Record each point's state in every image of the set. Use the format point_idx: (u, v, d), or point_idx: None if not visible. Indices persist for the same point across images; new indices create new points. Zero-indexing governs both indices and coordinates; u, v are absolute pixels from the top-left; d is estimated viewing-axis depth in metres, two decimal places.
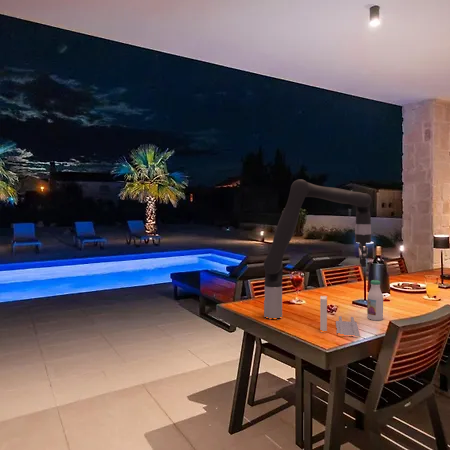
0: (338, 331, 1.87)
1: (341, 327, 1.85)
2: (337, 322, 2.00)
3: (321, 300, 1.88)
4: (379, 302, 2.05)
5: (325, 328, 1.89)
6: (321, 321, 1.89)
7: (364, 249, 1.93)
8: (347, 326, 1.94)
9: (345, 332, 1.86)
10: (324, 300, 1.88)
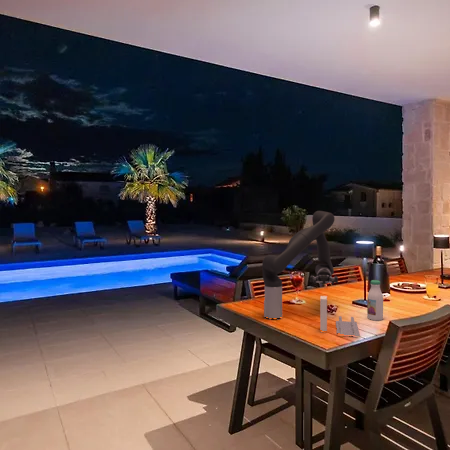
0: (338, 331, 1.87)
1: (341, 327, 1.85)
2: (337, 322, 2.00)
3: (321, 300, 1.88)
4: (379, 302, 2.05)
5: (325, 328, 1.89)
6: (321, 321, 1.89)
7: None
8: (347, 326, 1.94)
9: (345, 332, 1.86)
10: (324, 300, 1.88)
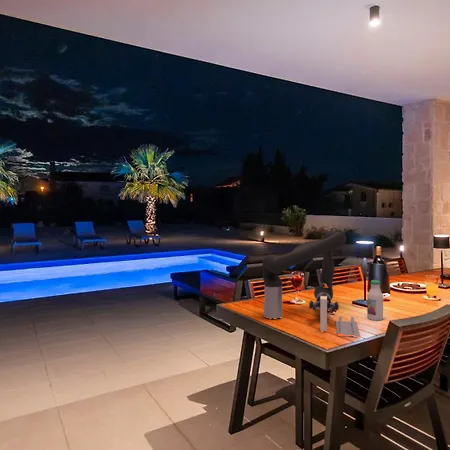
0: (338, 331, 1.87)
1: (341, 327, 1.85)
2: (337, 322, 2.00)
3: (321, 300, 1.88)
4: (379, 302, 2.05)
5: (325, 328, 1.89)
6: (321, 321, 1.89)
7: None
8: (347, 326, 1.94)
9: (345, 332, 1.86)
10: (324, 300, 1.88)
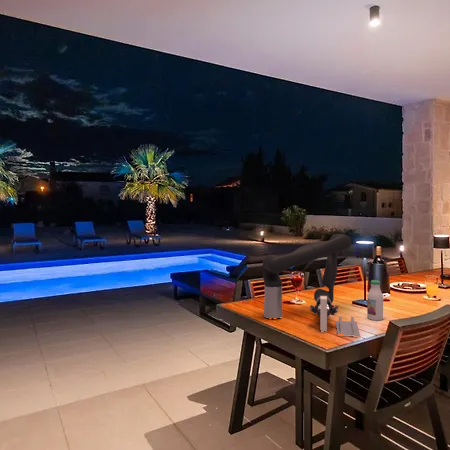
0: (338, 331, 1.87)
1: (341, 327, 1.85)
2: (337, 322, 2.00)
3: (321, 300, 1.88)
4: (379, 302, 2.05)
5: (325, 328, 1.89)
6: (321, 321, 1.89)
7: (336, 310, 1.95)
8: (347, 326, 1.94)
9: (345, 332, 1.86)
10: (324, 300, 1.88)
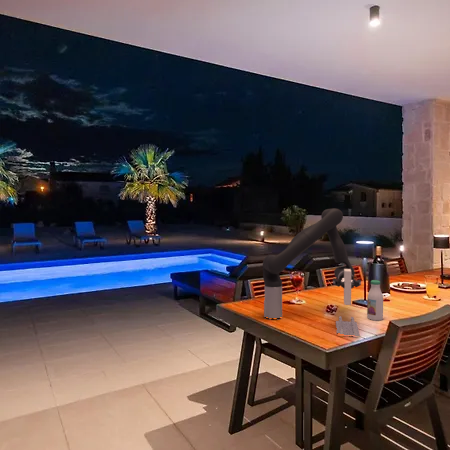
0: (338, 331, 1.87)
1: (341, 327, 1.85)
2: (337, 322, 2.00)
3: (345, 272, 1.87)
4: (379, 302, 2.05)
5: (349, 300, 1.88)
6: (345, 293, 1.88)
7: (360, 283, 1.94)
8: (347, 326, 1.94)
9: (345, 332, 1.86)
10: (348, 272, 1.87)
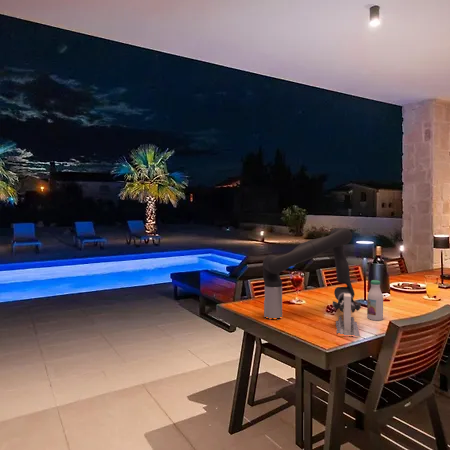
0: (338, 331, 1.87)
1: (341, 327, 1.85)
2: (337, 322, 2.00)
3: (345, 297, 1.88)
4: (379, 302, 2.05)
5: (349, 325, 1.89)
6: (345, 318, 1.89)
7: (360, 306, 1.95)
8: None
9: (345, 332, 1.86)
10: (348, 297, 1.88)
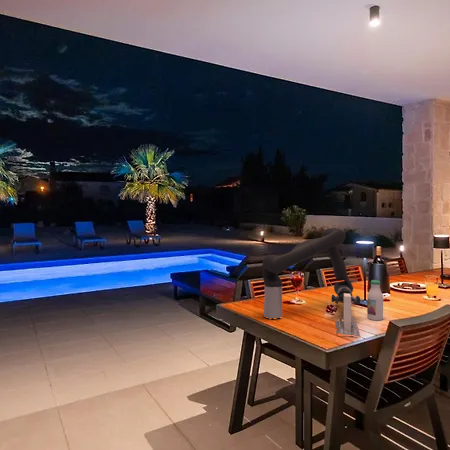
0: (338, 331, 1.87)
1: (341, 327, 1.85)
2: (337, 322, 2.00)
3: (345, 297, 1.88)
4: (379, 302, 2.05)
5: (349, 325, 1.89)
6: (345, 318, 1.89)
7: None
8: None
9: (345, 332, 1.86)
10: (348, 297, 1.88)
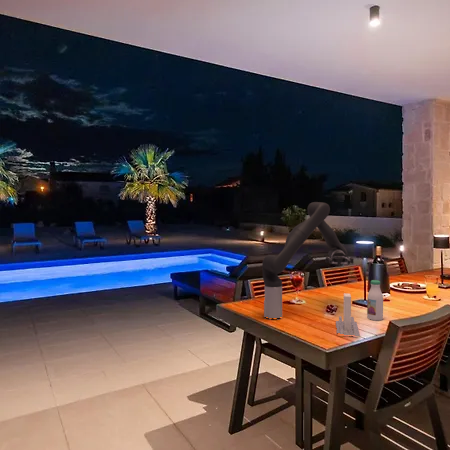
0: (338, 331, 1.87)
1: (341, 327, 1.85)
2: (337, 322, 2.00)
3: (345, 297, 1.88)
4: (379, 302, 2.05)
5: (349, 325, 1.89)
6: (345, 318, 1.89)
7: None
8: None
9: (345, 332, 1.86)
10: (348, 297, 1.88)
